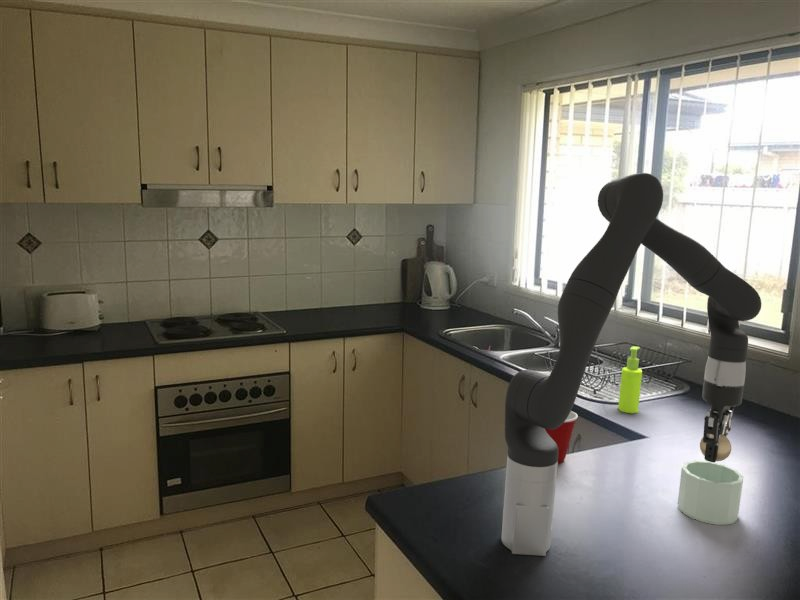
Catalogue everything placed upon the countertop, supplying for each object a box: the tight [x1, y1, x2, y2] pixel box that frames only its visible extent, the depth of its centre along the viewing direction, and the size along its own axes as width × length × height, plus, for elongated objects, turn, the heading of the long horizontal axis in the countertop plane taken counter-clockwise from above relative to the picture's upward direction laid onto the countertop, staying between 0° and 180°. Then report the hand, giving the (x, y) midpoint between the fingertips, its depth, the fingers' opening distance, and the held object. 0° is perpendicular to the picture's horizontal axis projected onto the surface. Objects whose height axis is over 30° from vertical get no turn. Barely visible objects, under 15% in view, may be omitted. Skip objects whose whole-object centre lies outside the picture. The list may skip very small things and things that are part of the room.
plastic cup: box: [544, 410, 579, 464], centre depth 167 cm, size 11×11×12 cm
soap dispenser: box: [617, 345, 643, 414], centre depth 207 cm, size 6×7×20 cm
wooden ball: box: [699, 434, 732, 462], centre depth 141 cm, size 6×6×6 cm
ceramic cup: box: [677, 460, 745, 526], centre depth 142 cm, size 12×12×9 cm
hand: (714, 456), depth 141 cm, fingers closed on wooden ball, 5 cm apart
